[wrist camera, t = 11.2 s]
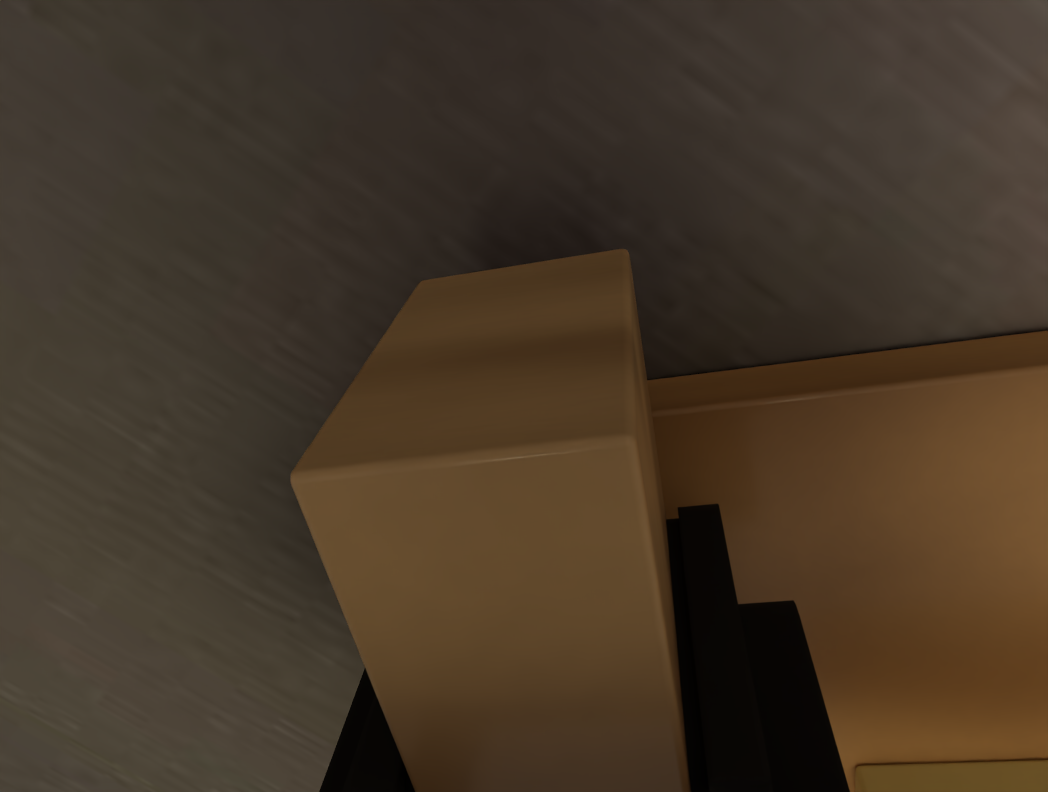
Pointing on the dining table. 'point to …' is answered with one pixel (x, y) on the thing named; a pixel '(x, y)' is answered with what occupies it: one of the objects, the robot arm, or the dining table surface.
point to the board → (888, 532)
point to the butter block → (954, 777)
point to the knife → (508, 534)
